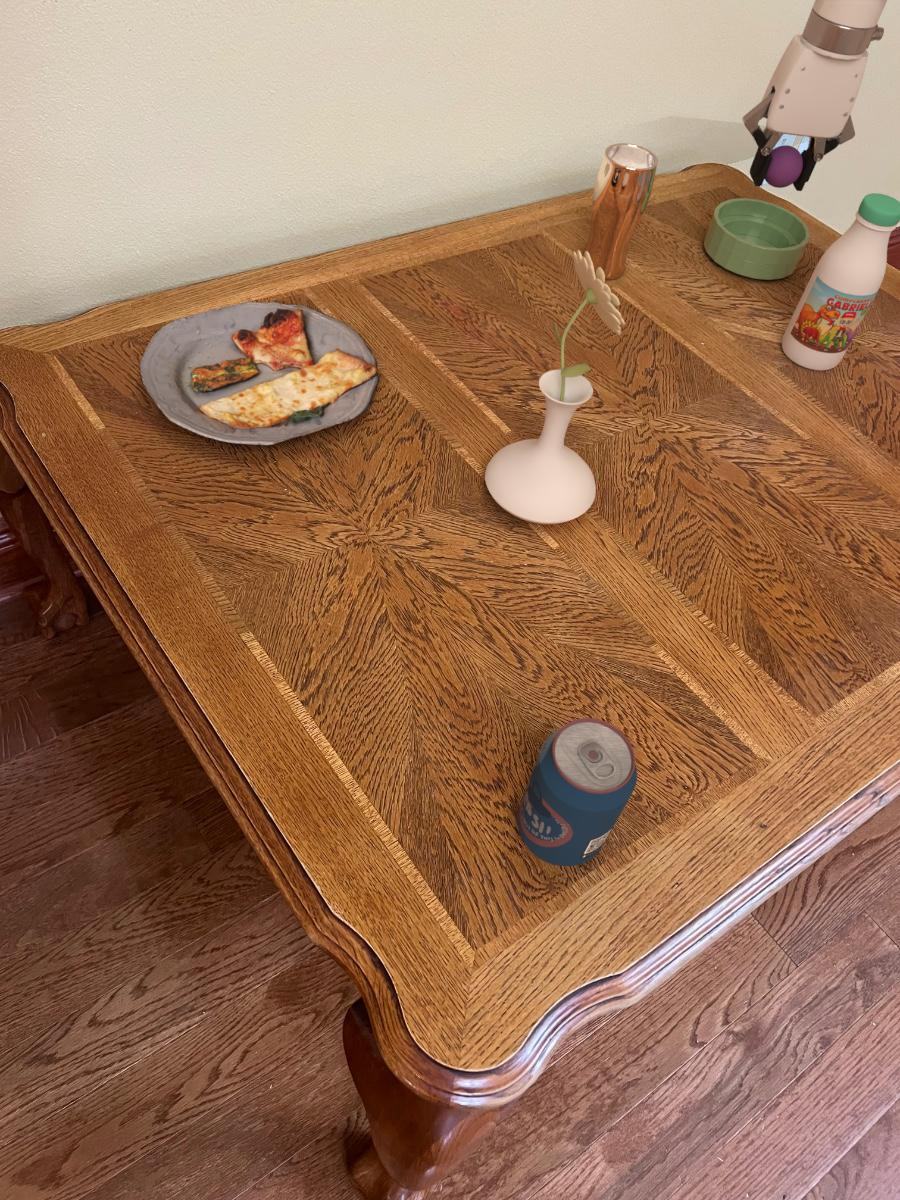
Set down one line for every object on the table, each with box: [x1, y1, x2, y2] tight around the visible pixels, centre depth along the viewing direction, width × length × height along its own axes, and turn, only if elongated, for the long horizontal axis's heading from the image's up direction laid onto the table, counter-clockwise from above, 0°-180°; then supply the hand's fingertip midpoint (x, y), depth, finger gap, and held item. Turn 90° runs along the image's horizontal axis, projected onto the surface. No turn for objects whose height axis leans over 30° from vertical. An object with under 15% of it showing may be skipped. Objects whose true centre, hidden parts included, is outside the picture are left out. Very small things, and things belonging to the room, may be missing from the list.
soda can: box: [516, 717, 638, 867], centre depth 68 cm, size 7×7×12 cm
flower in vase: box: [484, 249, 626, 525], centre depth 87 cm, size 13×11×25 cm
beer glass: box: [582, 142, 659, 281], centre depth 120 cm, size 7×7×15 cm
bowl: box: [703, 197, 811, 281], centre depth 130 cm, size 13×13×5 cm
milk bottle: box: [781, 192, 900, 371], centre depth 111 cm, size 8×8×20 cm
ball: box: [764, 144, 803, 189], centre depth 122 cm, size 5×5×5 cm
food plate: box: [139, 301, 381, 446], centre depth 101 cm, size 25×23×4 cm
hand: (776, 182), depth 123 cm, fingers closed on ball, 4 cm apart
